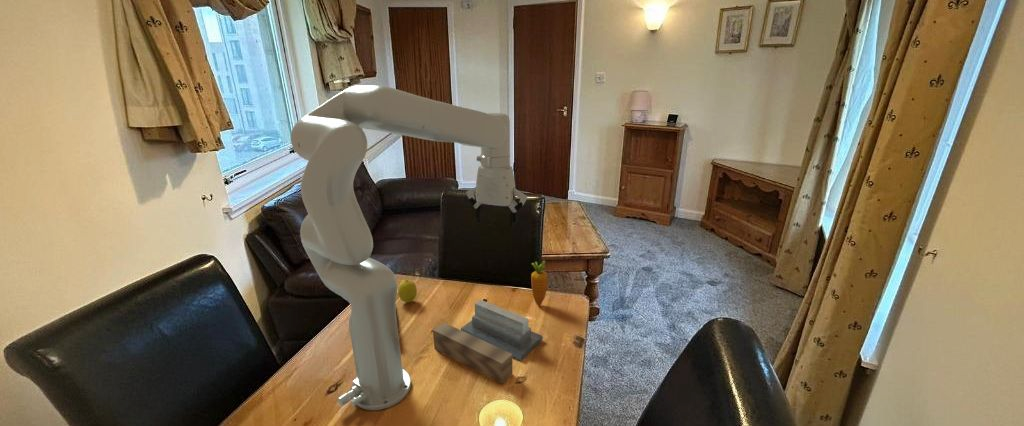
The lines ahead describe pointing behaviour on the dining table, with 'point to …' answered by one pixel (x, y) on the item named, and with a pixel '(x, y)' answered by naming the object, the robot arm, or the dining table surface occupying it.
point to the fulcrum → (502, 329)
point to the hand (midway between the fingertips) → (496, 222)
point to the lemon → (407, 291)
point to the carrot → (539, 283)
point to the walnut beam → (473, 352)
